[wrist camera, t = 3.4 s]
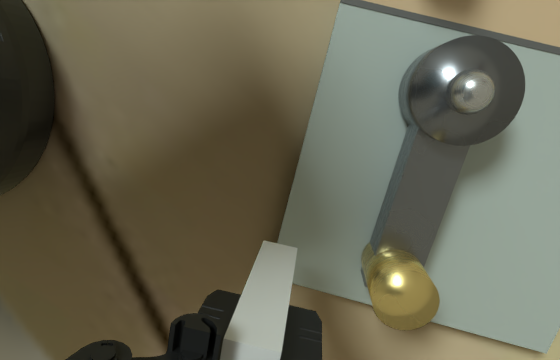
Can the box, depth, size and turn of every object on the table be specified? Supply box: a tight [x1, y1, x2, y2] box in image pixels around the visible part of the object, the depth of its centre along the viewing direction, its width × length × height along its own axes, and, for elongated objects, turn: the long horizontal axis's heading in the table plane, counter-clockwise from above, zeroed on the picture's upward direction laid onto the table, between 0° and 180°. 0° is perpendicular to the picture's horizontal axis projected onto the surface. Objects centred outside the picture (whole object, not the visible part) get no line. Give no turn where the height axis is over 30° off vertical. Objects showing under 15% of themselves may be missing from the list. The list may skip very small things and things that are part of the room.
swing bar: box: [361, 35, 525, 330], centre depth 16 cm, size 13×4×4 cm, turn 166°
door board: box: [277, 0, 560, 354], centre depth 18 cm, size 16×24×1 cm, turn 166°
